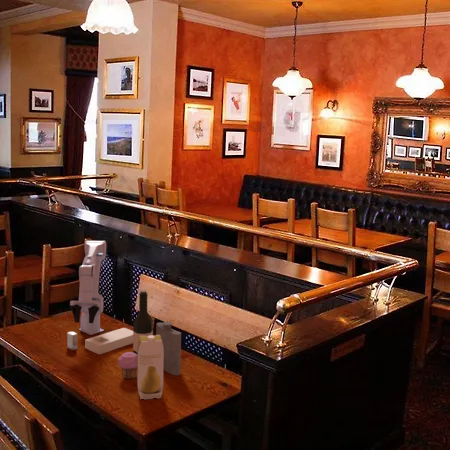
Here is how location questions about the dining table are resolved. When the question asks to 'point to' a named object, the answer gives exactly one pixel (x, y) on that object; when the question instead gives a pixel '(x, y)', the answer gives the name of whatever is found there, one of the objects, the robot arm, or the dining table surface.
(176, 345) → the hip flask
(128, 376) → the cupcake
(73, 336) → the pinkish white rectangular block
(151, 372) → the juice carton
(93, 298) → the robot arm
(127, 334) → the pale beige flat-sided block
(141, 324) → the wine bottle
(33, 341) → the dining table surface
